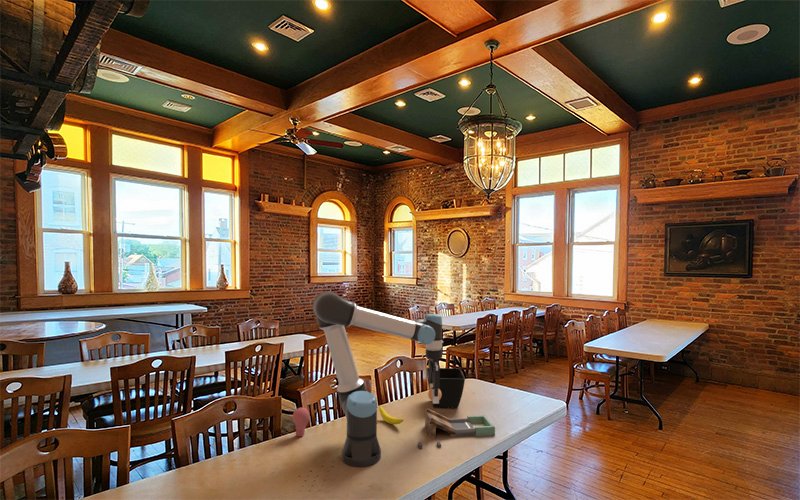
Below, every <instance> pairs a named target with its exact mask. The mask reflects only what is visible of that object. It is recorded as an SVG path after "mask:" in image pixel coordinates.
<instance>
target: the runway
mask: <svg viewBox="0 0 800 500" xmlns="http://www.w3.org/2000/svg"><path fill="white" fill-rule="evenodd" d="M449 419H450V420H449V422H450V424H451V426H452V427H453V428H455V429H456V430H455V432H456V433H455V436H454V437H466V436H467V437H469V436H476V435H475V428H474V427H473V426H472V424H471V423H470V419H468V418H467V417H460V418H449Z"/></svg>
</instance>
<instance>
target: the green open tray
mask: <svg viewBox="0 0 800 500" xmlns="http://www.w3.org/2000/svg"><path fill="white" fill-rule="evenodd" d="M466 418H468V419H470V423H471V424H472V426H473V427H474V428H475V435H474V436H475V437H480V436H482V437H483V436H495V435H496V427H495V425H494V424H493V423H492V422H491V420H490V419H489V418H488V417H487V416H486V414H482V415H467V416H466Z"/></svg>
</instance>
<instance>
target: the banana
mask: <svg viewBox="0 0 800 500" xmlns="http://www.w3.org/2000/svg"><path fill="white" fill-rule="evenodd" d="M378 409H379V413H380V416H381V418H382V420H383V421H384V422H385V423H386V424H387V423H388V424H390V425H399V424H402V423H403V422H404V421H405V420H404V419H403V418H399V417H398V418H397V417H393V416H391V415H389V414H388V413H387V412H386V410H385V409H384V407H382V405H381V404H378Z"/></svg>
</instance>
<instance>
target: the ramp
mask: <svg viewBox="0 0 800 500" xmlns="http://www.w3.org/2000/svg"><path fill="white" fill-rule="evenodd" d="M450 419H451V418H448V417H446V416H444V415H443V414H440V413H438V412H436V411H434V410H431V409H430V408H428V407H427V408H426V410H425V411H424V421H425V422H424V426H425V429H426V431H427V434H428V436H429V438H436V435H437V433H436V430H437V429H440V430H442V431H444V432H447V434H448V435H449V437H456V436H455V433H456V432H455V430H456V429H455V428H453V427H452V426H451V424H450V422H449V420H450ZM436 428H437V429H436Z"/></svg>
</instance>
